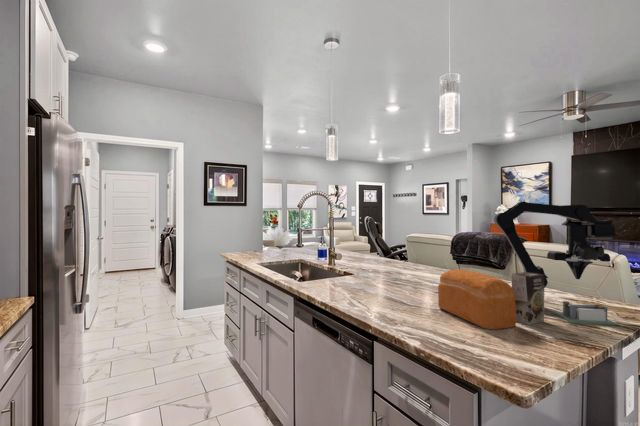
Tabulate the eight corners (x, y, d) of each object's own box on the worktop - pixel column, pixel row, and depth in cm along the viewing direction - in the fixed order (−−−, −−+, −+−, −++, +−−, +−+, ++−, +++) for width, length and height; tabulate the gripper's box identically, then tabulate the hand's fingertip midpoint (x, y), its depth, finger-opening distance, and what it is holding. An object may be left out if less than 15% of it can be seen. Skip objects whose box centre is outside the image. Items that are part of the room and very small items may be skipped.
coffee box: (529, 325, 107) (529, 276, 107) (510, 319, 113) (510, 273, 113) (545, 321, 111) (545, 274, 111) (526, 316, 117) (526, 271, 117)
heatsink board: (571, 323, 110) (572, 307, 110) (555, 313, 120) (555, 299, 119) (615, 325, 108) (615, 308, 108) (594, 315, 118) (594, 300, 118)
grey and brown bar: (570, 309, 113) (569, 304, 113) (566, 307, 116) (565, 302, 116) (602, 309, 112) (602, 304, 112) (597, 307, 114) (597, 302, 114)
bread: (464, 305, 131) (464, 265, 131) (520, 327, 106) (520, 278, 106) (434, 307, 127) (434, 267, 127) (485, 331, 102) (485, 281, 102)
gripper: (563, 239, 117) (563, 282, 117) (622, 240, 114) (621, 284, 114) (546, 236, 128) (546, 276, 128) (599, 237, 125) (599, 278, 125)
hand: (577, 279), depth 123 cm, fingers closed
